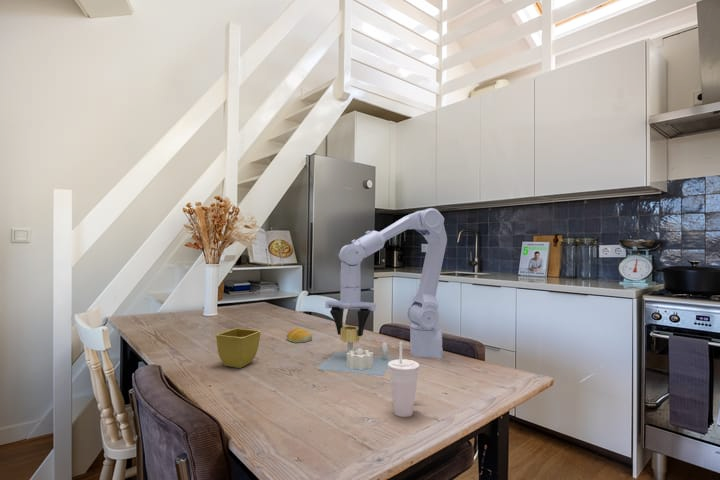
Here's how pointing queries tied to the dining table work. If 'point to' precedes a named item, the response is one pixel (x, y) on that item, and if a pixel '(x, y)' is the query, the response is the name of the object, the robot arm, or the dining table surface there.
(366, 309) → the robot arm
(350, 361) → the gear
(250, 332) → the flower pot
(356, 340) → the brass gear
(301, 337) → the bread roll
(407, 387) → the smoothie
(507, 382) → the dining table surface
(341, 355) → the gear board
